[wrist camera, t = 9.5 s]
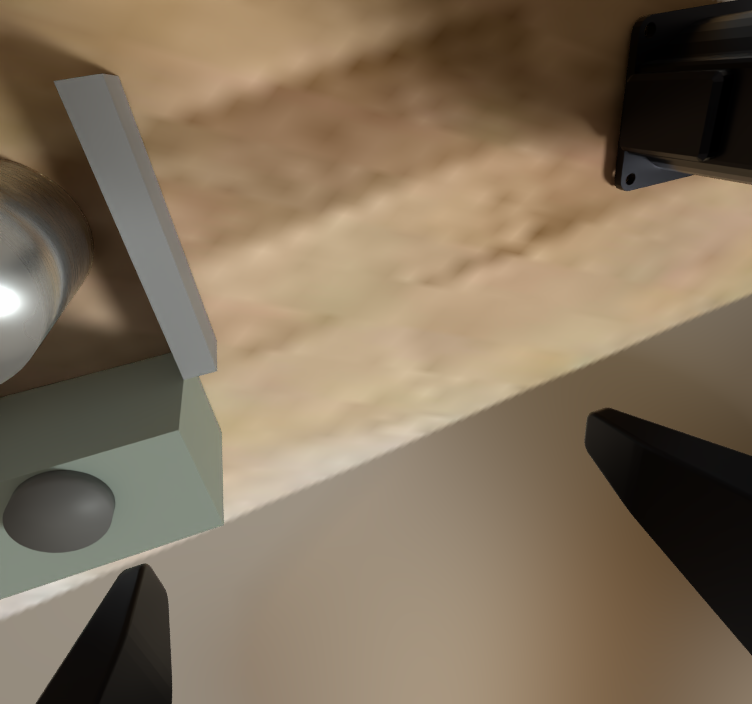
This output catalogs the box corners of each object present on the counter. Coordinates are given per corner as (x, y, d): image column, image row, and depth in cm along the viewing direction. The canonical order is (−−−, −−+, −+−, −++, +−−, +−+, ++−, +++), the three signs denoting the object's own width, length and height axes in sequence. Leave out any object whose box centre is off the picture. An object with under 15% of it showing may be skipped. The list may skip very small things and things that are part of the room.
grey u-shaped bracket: (118, 75, 14) (66, 68, 9) (247, 424, 22) (258, 527, 17) (-287, 140, 13) (-626, 173, 8) (2, 497, 20) (-71, 637, 15)
